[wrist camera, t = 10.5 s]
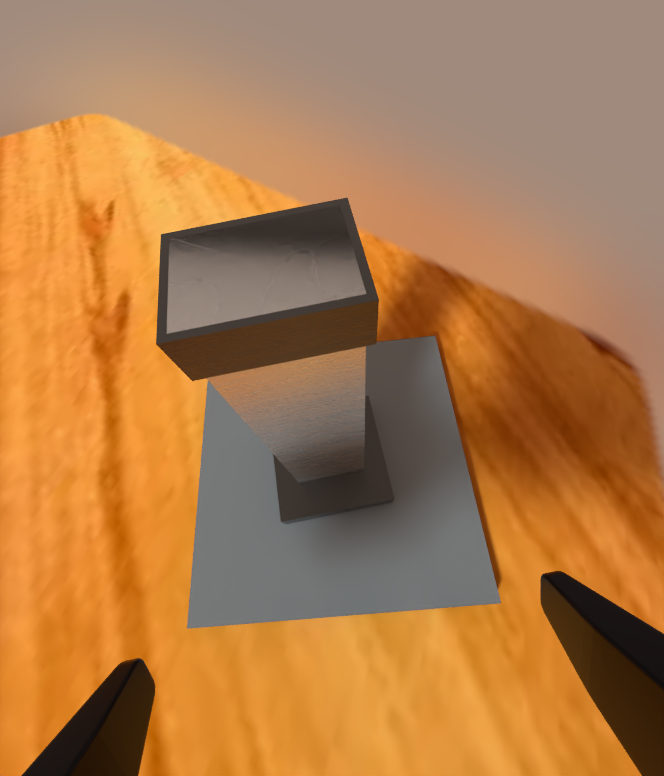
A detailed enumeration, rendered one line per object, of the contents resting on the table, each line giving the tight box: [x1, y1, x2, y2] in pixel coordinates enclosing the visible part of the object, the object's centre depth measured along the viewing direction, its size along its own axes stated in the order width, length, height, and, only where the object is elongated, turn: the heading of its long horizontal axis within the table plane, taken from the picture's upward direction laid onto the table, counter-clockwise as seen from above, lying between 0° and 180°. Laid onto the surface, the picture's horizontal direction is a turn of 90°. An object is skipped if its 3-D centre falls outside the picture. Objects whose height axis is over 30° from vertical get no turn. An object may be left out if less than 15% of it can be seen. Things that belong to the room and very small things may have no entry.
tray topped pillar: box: [156, 198, 395, 524], centre depth 11 cm, size 5×5×13 cm
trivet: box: [187, 336, 501, 628], centre depth 18 cm, size 13×13×1 cm
